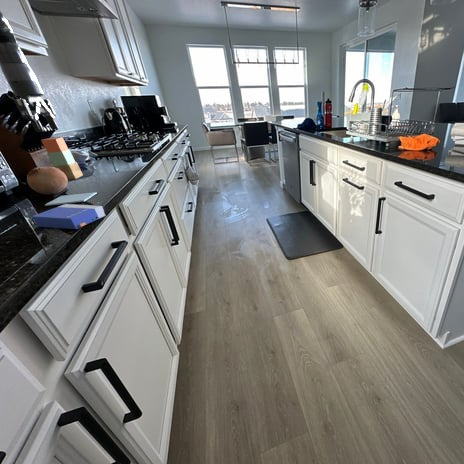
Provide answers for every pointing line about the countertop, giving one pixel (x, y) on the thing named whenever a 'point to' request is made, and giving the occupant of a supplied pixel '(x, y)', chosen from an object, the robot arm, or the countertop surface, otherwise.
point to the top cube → (54, 144)
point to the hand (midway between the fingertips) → (48, 130)
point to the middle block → (61, 158)
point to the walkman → (69, 216)
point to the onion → (47, 180)
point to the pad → (71, 198)
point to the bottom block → (70, 170)
